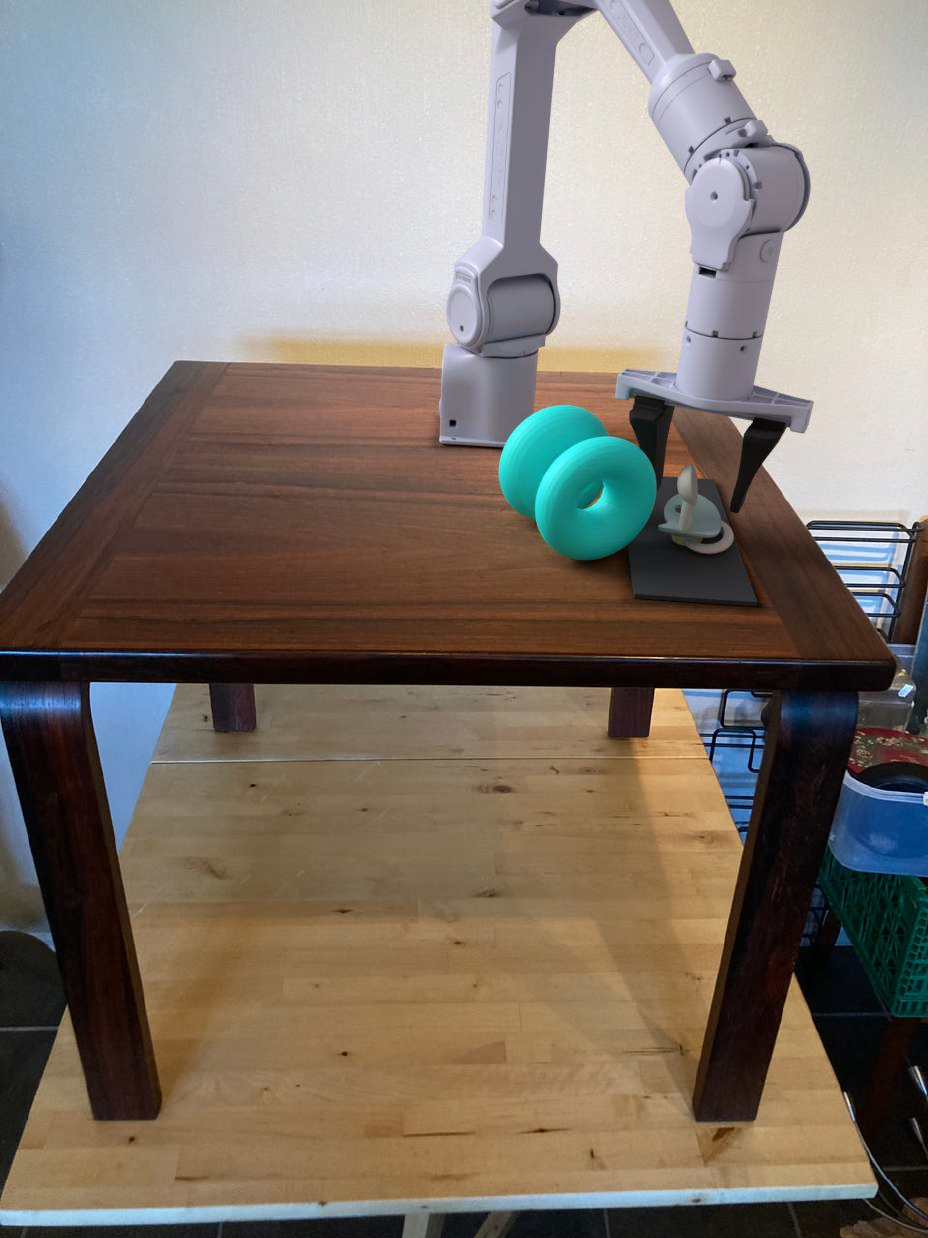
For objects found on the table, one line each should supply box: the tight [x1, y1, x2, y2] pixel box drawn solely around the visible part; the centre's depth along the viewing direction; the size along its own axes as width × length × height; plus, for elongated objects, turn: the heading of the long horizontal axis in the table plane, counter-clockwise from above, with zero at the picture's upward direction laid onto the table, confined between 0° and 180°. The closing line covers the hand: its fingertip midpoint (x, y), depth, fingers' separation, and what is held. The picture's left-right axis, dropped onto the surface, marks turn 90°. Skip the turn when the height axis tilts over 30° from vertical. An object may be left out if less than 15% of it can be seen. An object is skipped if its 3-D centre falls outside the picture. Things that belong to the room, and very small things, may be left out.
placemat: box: [625, 475, 758, 607], centre depth 81 cm, size 9×22×1 cm, turn 176°
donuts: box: [498, 404, 657, 561], centre depth 77 cm, size 10×10×10 cm
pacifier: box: [658, 463, 735, 554], centre depth 78 cm, size 7×6×6 cm
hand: (693, 498), depth 78 cm, fingers open, 6 cm apart
